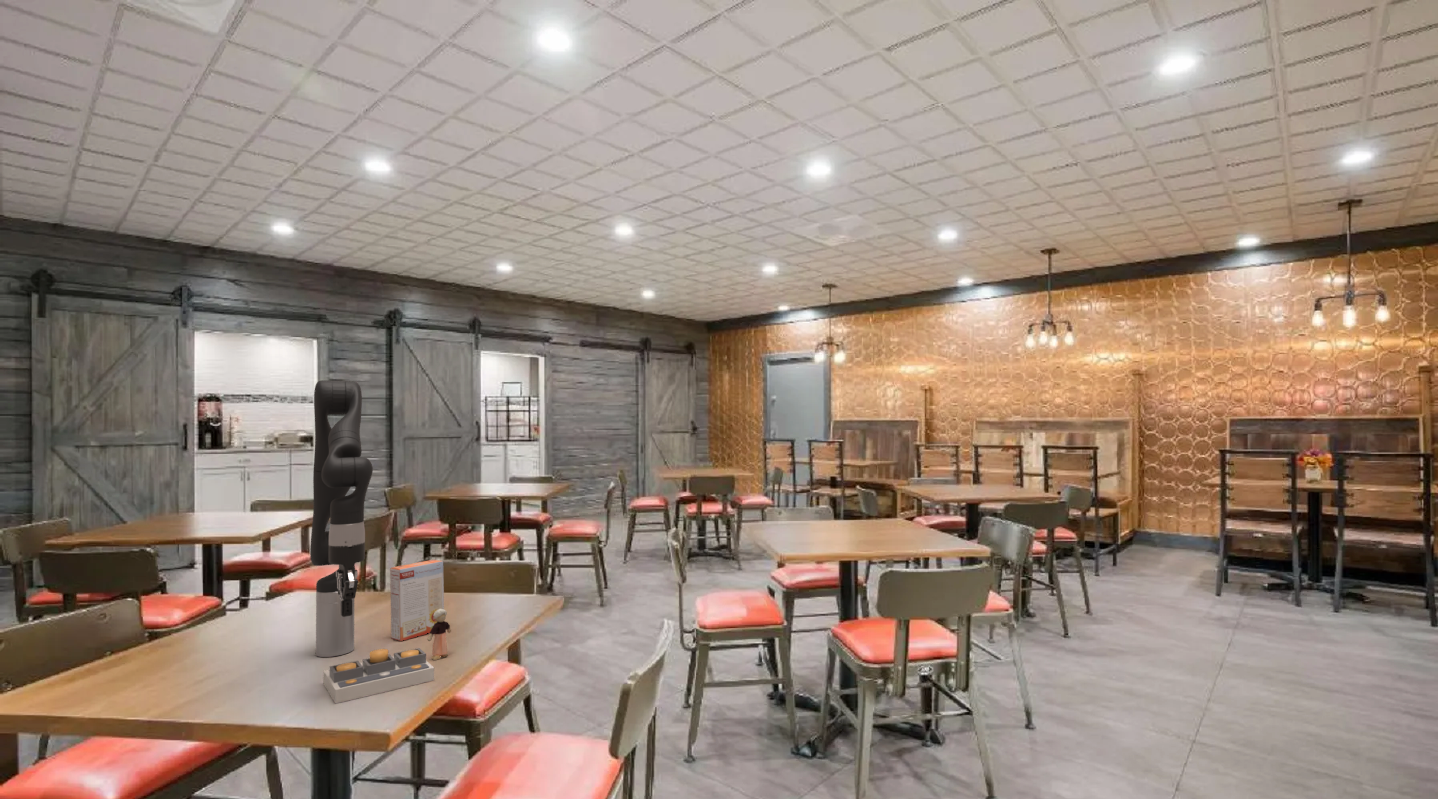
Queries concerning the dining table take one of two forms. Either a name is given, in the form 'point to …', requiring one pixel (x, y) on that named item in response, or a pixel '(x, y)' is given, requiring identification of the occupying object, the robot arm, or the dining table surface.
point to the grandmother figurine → (439, 635)
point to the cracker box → (415, 598)
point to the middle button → (378, 655)
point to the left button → (346, 666)
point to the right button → (409, 653)
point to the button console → (377, 676)
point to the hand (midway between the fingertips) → (346, 615)
